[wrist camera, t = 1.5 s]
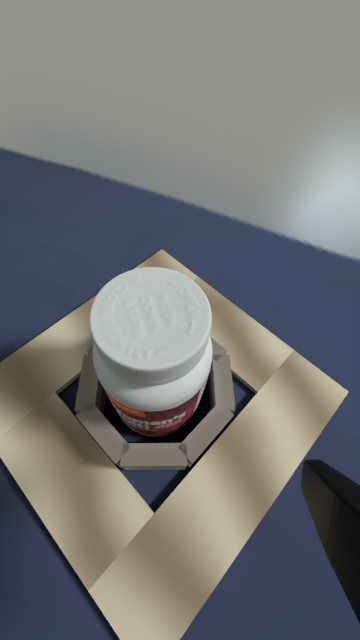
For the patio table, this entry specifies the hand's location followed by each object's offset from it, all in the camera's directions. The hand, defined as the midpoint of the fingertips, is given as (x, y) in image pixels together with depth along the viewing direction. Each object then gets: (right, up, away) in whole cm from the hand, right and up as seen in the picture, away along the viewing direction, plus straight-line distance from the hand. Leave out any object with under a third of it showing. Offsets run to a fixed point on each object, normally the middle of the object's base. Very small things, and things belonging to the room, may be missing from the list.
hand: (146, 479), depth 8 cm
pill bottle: (-1, -1, +14) cm, 14 cm away
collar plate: (-1, -1, +14) cm, 14 cm away
